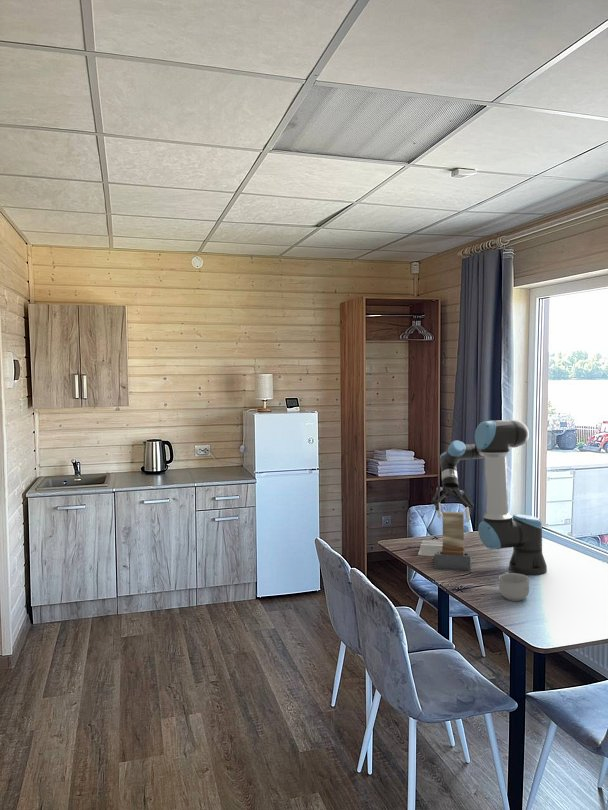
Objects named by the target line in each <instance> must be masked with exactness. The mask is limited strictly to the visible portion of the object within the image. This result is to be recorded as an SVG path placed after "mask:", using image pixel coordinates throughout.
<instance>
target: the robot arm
mask: <svg viewBox="0 0 608 810" xmlns="http://www.w3.org/2000/svg"><path fill="white" fill-rule="evenodd" d="M529 437H530V433H529V428H528V427H527V425H526V424H525V423H523V422H522V421H520V420H517V419H507V420H505V419H503V420H499V419H498V420H492V419H491V420H487V421H482V422H480V423H479V424H478V425H477V427H476V429H475V431H474V442H475V443H464V442H463V441H462V440H461V441H460V440H457V439H456V440H453V441H452V442H451V443H450V444H449V446H448V447H447V450H446V451H444V452H442V453H441V454H440V455H439V456H440V457H439V463H440V465H439V466H440V472H441V473H440V474H441V482H442V483H441V484H442V487H441V485H437V487H436V491H435V493H434V495H433V497H432V499H431V501H430V503H431V504H434V507H435V511H437V518H438V519H439V518H441V516H442V507H441V506H442V505H441V502H442V501H443V499H444V498H446V497H447V498H451V499H455V500H457V501H458V502H459V503H460V504H462V506H463V508H465V509H464V511H465V513H464V514H465V519H466V520H465V521H466V522H467V523H468V522H469V521H470V520H471V516H470V515H471V513H472V511H471V510H473V508H474V506H475V505H474V503H473V501H472V500H471V498H470V496H468V493H467V490H466V489H465V488H463V490H461V489H460V488H459V480H458V479H459V478H458V471H457V470H458V469H457V465H459V463H460V461H462V460H463V461H464V460H480V459H481V460H484V468H485V469H484V470H485V471H484V472H485V491H486V492H485V495H486V513H485V514H484V515H483V521H481V522H480V523H479V525H478V526H477V527H478V530H477V531H478V535H479V539H480V541H481V542H482V544H483V546H484V547H486V548H487V549H488V550H500V549H508V548H509V549H510V548H512V549H513V550H512V554H511V557H510V560H509V564H508V565H509V570H510V571H512V572H513V573H517V574H523V575H530V576H531V575H534V576H535V575H543V574H546V573H547V571H548V570H547V569H548V568H547V567H548V565H547V563H546V560H545V556H544V555H543V523H542V520H541V518H538V517H536V516H532V515H528V514H519V513H517V514H513V515H512V514H510V512H509V499H508V498H509V496H508V494H509V493H508V474H507V473H508V471H507V469H508V468H507V456H508V455H509V454H510V448H518V447H520V446H523V445H524V444H526V443H527V441H528V440H529ZM440 492H442V493H443V494H441V495H440V496H439V498H437V497H438V495H439V493H440ZM436 498H437V499H436Z"/></svg>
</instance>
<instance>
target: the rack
mask: <svg viewBox="0 0 608 810" xmlns="http://www.w3.org/2000/svg"><path fill="white" fill-rule="evenodd" d="M433 557H434V563H433V568H434V569H435V570H436V569H437V570H450V571H452V570H453V571H463V572H471V571H472V570H471V568H472V553H468V552H464V555H449V554H442V551H440V554H439V552H437V554H434V556H433Z"/></svg>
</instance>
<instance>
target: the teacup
mask: <svg viewBox="0 0 608 810" xmlns="http://www.w3.org/2000/svg"><path fill="white" fill-rule="evenodd" d="M529 580H530V577H528V576H527V575H526V574H521V573H517V572H511V573H510V572H508V571H505V572H504V573H503V574H500V575H499V576H498V586H499V592H500V594H501V595H502V597H504V598H505V599H506V600H509V601H513V602H518V601H519V602H521V601H523V600H525V599H526V598H528V596H529V593H530V581H529Z"/></svg>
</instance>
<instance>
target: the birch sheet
mask: <svg viewBox="0 0 608 810" xmlns="http://www.w3.org/2000/svg"><path fill="white" fill-rule="evenodd" d="M464 515H465V513H464V512H461V511H457V512H456V511H442V512H441V516H442V542H443V545H446V546H464V547H465V538H464V537H465V526H464V525H465V523H464V521H465V519H464V517H465V516H464Z"/></svg>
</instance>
